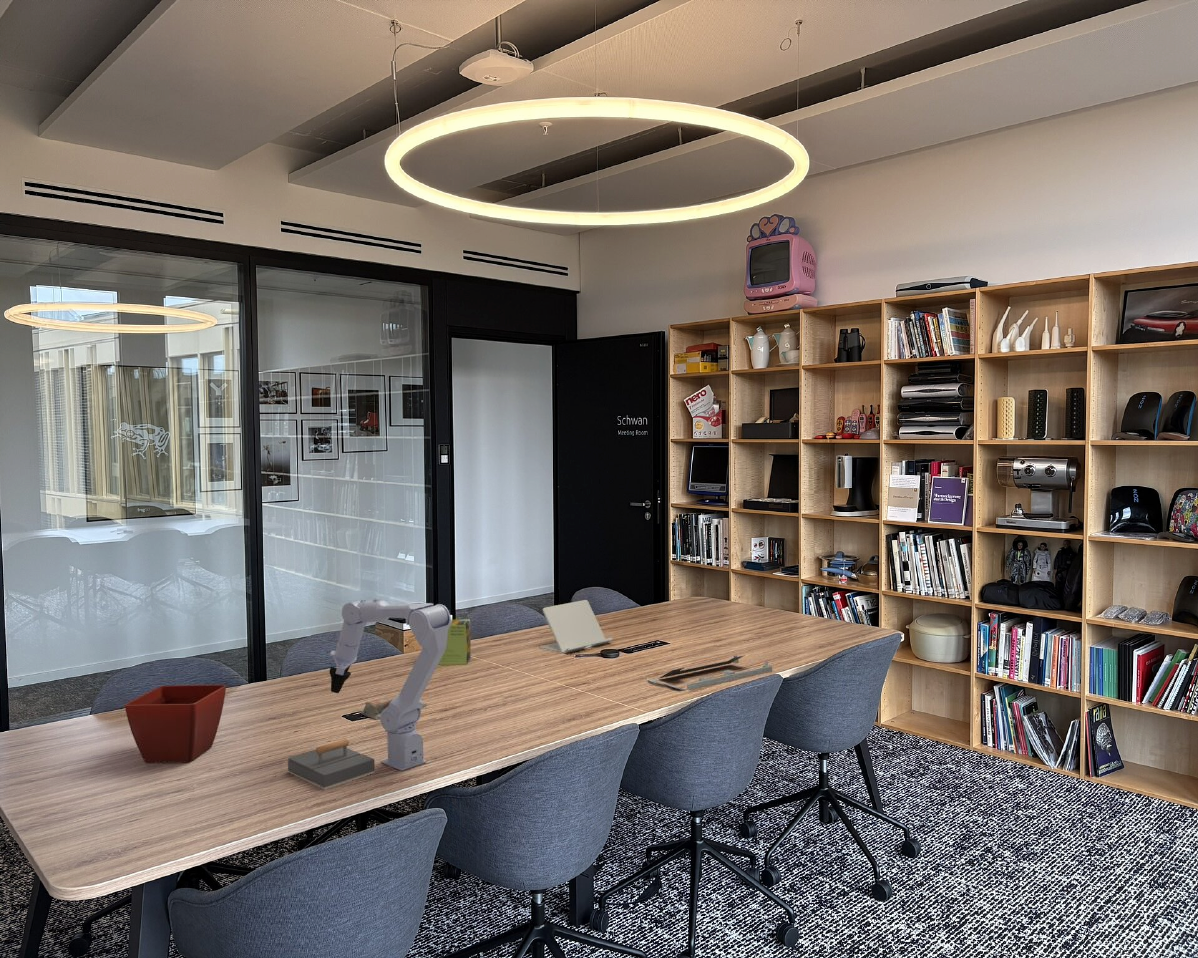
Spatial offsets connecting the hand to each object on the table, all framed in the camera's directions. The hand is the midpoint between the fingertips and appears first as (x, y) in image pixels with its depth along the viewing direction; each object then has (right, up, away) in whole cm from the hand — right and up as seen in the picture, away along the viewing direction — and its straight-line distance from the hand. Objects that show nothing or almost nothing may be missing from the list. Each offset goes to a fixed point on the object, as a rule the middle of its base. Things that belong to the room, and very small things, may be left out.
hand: (337, 685), depth 241 cm
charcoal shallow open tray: (+3, -18, -17) cm, 25 cm away
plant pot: (-43, -19, -2) cm, 47 cm away
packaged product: (+7, -17, +35) cm, 40 cm away
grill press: (+1, -15, -15) cm, 22 cm away
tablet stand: (+63, -12, +119) cm, 135 cm away
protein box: (+14, -14, +96) cm, 98 cm away
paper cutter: (+111, -14, +69) cm, 131 cm away
